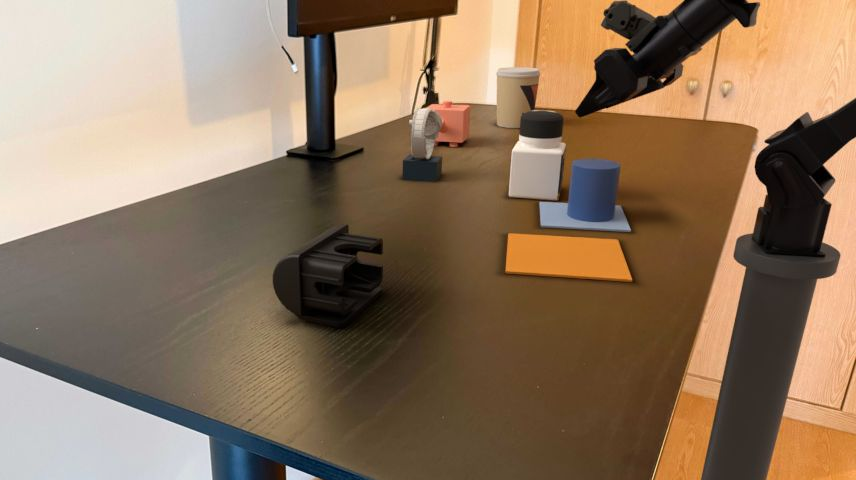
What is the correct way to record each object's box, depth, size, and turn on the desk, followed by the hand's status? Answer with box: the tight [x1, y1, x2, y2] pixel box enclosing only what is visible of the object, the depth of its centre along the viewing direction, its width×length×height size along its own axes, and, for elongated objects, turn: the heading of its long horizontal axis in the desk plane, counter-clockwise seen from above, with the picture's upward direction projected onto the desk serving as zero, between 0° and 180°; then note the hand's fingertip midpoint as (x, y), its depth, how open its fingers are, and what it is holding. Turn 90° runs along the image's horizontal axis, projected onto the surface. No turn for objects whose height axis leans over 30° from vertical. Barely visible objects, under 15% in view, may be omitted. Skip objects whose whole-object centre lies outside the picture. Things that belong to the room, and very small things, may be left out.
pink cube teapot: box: [425, 100, 471, 148], centre depth 139 cm, size 8×12×8 cm, turn 161°
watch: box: [402, 107, 443, 182], centre depth 114 cm, size 6×8×11 cm
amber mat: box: [505, 232, 633, 283], centre depth 81 cm, size 13×13×1 cm
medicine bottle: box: [508, 109, 567, 202], centre depth 104 cm, size 7×7×12 cm
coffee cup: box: [495, 66, 541, 129], centre depth 156 cm, size 9×9×12 cm
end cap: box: [272, 223, 384, 329], centre depth 69 cm, size 10×7×7 cm
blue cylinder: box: [567, 158, 621, 222], centre depth 94 cm, size 6×6×7 cm
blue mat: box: [538, 201, 632, 233], centre depth 95 cm, size 11×11×1 cm
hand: (591, 110), depth 97 cm, fingers open, 9 cm apart
